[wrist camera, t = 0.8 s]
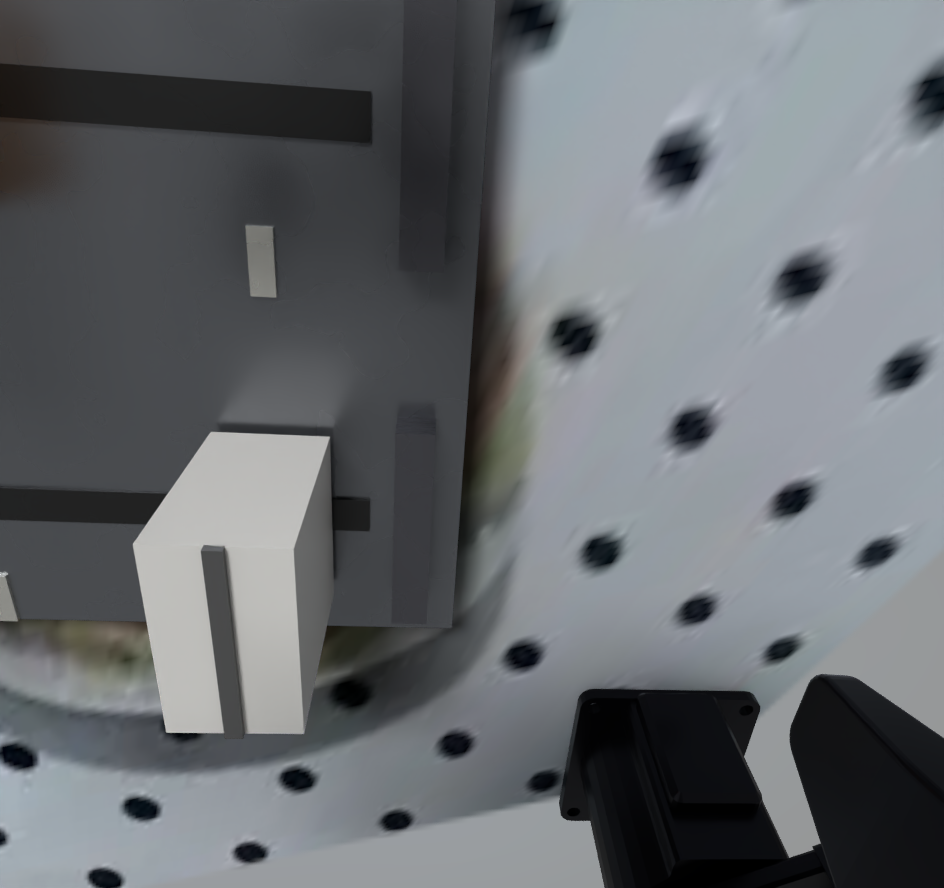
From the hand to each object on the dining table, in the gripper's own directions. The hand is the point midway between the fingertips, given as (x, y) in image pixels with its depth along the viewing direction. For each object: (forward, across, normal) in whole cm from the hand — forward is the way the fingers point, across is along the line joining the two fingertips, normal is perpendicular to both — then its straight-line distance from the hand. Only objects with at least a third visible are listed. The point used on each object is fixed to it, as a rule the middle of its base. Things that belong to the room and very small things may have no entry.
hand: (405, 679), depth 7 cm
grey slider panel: (+12, +8, 0) cm, 15 cm away
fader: (+11, +4, +5) cm, 12 cm away
